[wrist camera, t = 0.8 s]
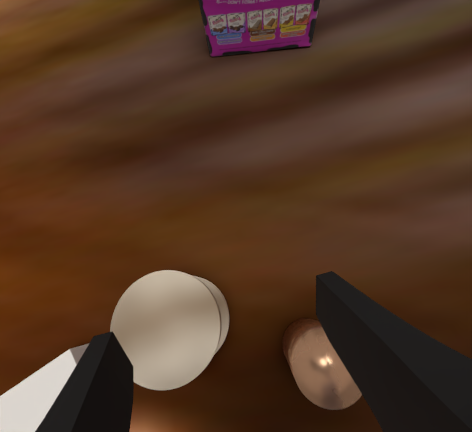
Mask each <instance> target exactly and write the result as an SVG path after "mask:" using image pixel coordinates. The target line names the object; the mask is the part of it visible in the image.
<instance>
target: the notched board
mask: <svg viewBox="0 0 472 432" xmlns="http://www.w3.org/2000/svg"><path fill="white" fill-rule="evenodd" d="M88 345H89V344H85V345H82V346H78V347H75V348H72V349H69V350H68V351H66V352H65V353H63V354H62V355H60V356H59V357H57V358H56V359H54V360H53V361H51V362H50V363H48V364H47V365H46V366H44V367H43V368H41V369H40V370H38V371H37V372H35V373H34V374H32V375H31V376H29V377H28V378H26V379H25V380H23V381H22V382H21V383H19V384H18V385H16V386H15V387H13V388H12V389H10V390H9V391H7V392H6V393H4V394H3V395H1V396H0V432H35V431H36V430H37V428H38V427H39V425H40V424H41V422H42V420H43V419H44V417H45V416H46V414H47V413H48V411H49V409H50V408H51V406H52V405H53V403H54V401H55V400H56V398H57V396H58V395H59V393H60V392H61V390H62V388H63V387H64V385H65V384H66V382H67V380H68V378H69V377H70V375H71V373H72V372H73V370H74V368H75V367H76V365H77V363H78V362H79V360H80V358H81V357H82V355H83V353H84V352H85V350H86V348H87V347H88Z"/></svg>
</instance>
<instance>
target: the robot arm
mask: <svg viewBox="0 0 472 432" xmlns="http://www.w3.org/2000/svg"><path fill="white" fill-rule="evenodd" d="M316 315H317V317H318V319H319V321H320V323H321V325H322V328H323V330H324V332H325V334H326V336H327V338H328V340H329V342H330V343H331V345H332V347H333V348H334V350H335V351H336V353H337V355H338V356H339V358H340V360H341V361H342V363H343V364H344V366H345V368H346V369H347V371H348V372H349V374H350V376H351V377H352V379H353V380H354V382H355V384H356V385H357V387H358V388H359V390H360V392H361V393H362V395H363V396H364V398H365V400H366V401H367V403H368V405H369V406H370V408H371V410H372V412H373V413H374V415H375V417H376V419H377V420H378V422H379V424H380V426H381V428H382V430H383V432H472V359H470V358H468V357H466V356H464V355H462V354H460V353H459V352H457V351H455V350H453V349H451V348H449V347H447V346H445V345H444V344H442V343H440V342H438V341H437V340H435V339H433V338H431V337H430V336H428V335H426V334H425V333H423V332H421V331H420V330H418V329H416V328H415V327H413V326H412V325H410V324H408V323H407V322H405V321H404V320H402V319H400V318H399V317H397V316H396V315H394V314H393V313H391V312H390V311H388V310H387V309H385V308H384V307H382V306H381V305H379V304H378V303H376V302H375V301H373V300H372V299H370V298H369V297H368V296H366V295H365V294H363V293H362V292H360V291H359V290H358V289H356V288H355V287H353V286H352V285H351V284H349V283H348V282H347V281H345V280H344V279H342V278H341V277H340V276H338V275H337V274H335V273H334V272H332V271H331V272H328V273H324V274H320V275H317V276H316ZM132 405H133V365H132V363H131V362H130V360H129V358H128V357H127V355H126V353H125V351H124V350H123V348H122V346H121V345H120V343H119V341H118V340H117V338H116V336H115V335H114V333H113V331H112V332H108V333H105V334H101V335H97V336H94V337H93V338H92V340H91V342H90V343H89V345H88V347H87V348H86V350H85V352H84V353H83V355H82V357H81V358H80V360H79V362H78V363H77V365H76V367H75V368H74V370H73V372H72V373H71V375H70V377H69V378H68V380H67V382H66V384H65V385H64V387H63V388H62V390H61V392H60V393H59V395H58V396H57V398H56V400H55V401H54V403H53V405H52V406H51V408H50V409H49V411H48V413H47V414H46V416H45V417H44V419H43V420H42V422H41V424H40V425H39V427H38V428H37V430H36V431H35V432H129V429H130V421H131V413H132Z"/></svg>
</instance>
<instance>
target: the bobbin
mask: <svg viewBox="0 0 472 432" xmlns="http://www.w3.org/2000/svg"><path fill="white" fill-rule="evenodd" d="M229 322H230V315H229V309H228V305H227V302H226V299H225V298H224V296H223V294H222V293H221V291H220V290H219V289H218V288H217V287H216V286H215V285H214V284H213V283H211V282H210V281H208V280H206V279H203V278H201V277H197V276H192V275H189V274H187V273H183V272H180V271H174V270H163V271H157V272H153V273H150V274H148V275H146V276H144V277H142V278H140V279H139V280H137V281H136V282H135V283H133V284H132V285H131V286H130V287H129V288H128V289H127V290H126V292H125V293H124V294H123V295H122V297H121V298H120V300H119V302H118V304H117V306H116V308H115V311H114V313H113V317H112V321H111V328H110V332H112V331H113V333H114V335H115V336H116V338H117V340H118V341H119V343H120V345H121V346H122V348H123V350H124V351H125V353H126V355H127V357H128V358H129V360H130V362H131V363H132V365H133V381H134V382H135V383H137V384H138V385H140V386H142V387H145V388H148V389H153V390H170V389H175V388H178V387H181V386H183V385H185V384H187V383H189V382H190V381H192V380H193V379H195V378H196V377H197V376H198V375H199V374H200V373H201V372H202V371H203V370H204V369H205V368H206V366H207V365H208V364H209V362H210V361H211V359H212V358H213V356H214V355H215V353H216V352H217V351H218V350H219V348H220V347H221V346H222V344H223V342H224V340H225V338H226V336H227V333H228V329H229Z"/></svg>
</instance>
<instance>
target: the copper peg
mask: <svg viewBox="0 0 472 432" xmlns="http://www.w3.org/2000/svg"><path fill="white" fill-rule="evenodd" d="M282 347H283V352H284V355H285V357H286V359H287V362H288V364H289V366H290V369H291V371H292V373H293V376H294V378H295V380H296V383H297V385H298V387H299V389H300V390H301V392H302V393H303V394H304V395H305V397H306V398H307V399H309V400H310V401H311V402H312V403H314V404H315V405H317V406H319V407H322V408H325V409H330V410H338V409H343V408H346V407H349V406H351V405H352V404H354V403H355V402H356V401H357V400H358V399H359V398H360V397H361V395H362V393H361V392H360V390H359V388H358V387H357V385H356V384H355V382H354V380H353V379H352V377H351V376H350V374H349V372H348V371H347V369H346V368H345V366H344V364H343V363H342V361H341V360H340V358H339V356H338V355H337V353H336V351H335V350H334V348H333V347H332V345H331V343H330V342H329V340H328V338H327V336H326V334H325V332H324V330H323V328H322V325H321V323H320V322H319V321H316V320H314V319H310V318H302V319H298V320H296V321H294V322H292V323H291V324H290V325H289V326H288V327H287V329H286V330H285V332H284V335H283V340H282Z"/></svg>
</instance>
